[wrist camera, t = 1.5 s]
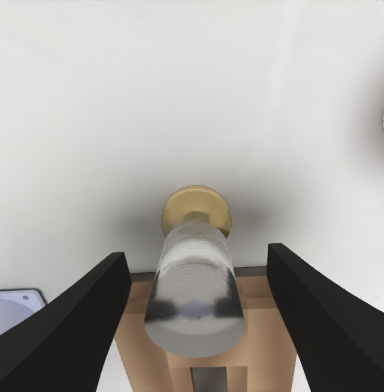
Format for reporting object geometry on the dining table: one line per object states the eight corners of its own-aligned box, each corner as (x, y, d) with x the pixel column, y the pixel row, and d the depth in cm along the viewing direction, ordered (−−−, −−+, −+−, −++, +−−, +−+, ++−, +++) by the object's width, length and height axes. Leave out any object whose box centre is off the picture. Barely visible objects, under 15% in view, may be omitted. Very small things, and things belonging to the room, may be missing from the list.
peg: (168, 245, 16) (140, 368, 8) (159, 188, 14) (113, 277, 7) (229, 241, 16) (260, 365, 8) (228, 182, 14) (265, 270, 6)
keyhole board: (162, 411, 26) (156, 459, 22) (124, 273, 17) (106, 315, 14) (268, 410, 25) (280, 459, 21) (281, 265, 17) (304, 307, 13)
